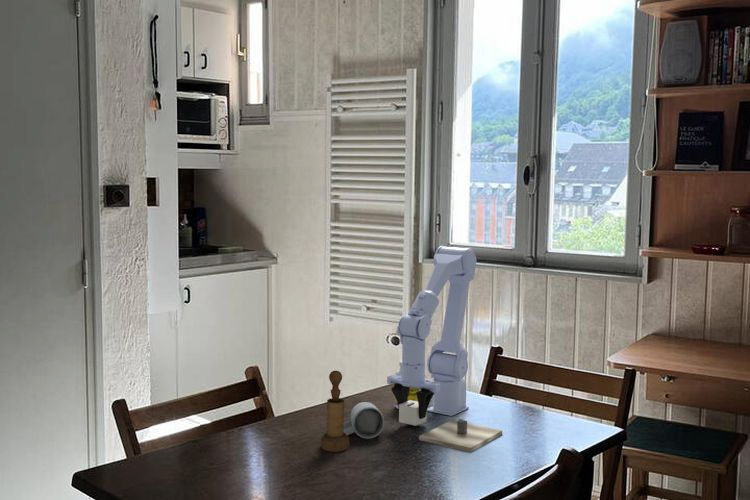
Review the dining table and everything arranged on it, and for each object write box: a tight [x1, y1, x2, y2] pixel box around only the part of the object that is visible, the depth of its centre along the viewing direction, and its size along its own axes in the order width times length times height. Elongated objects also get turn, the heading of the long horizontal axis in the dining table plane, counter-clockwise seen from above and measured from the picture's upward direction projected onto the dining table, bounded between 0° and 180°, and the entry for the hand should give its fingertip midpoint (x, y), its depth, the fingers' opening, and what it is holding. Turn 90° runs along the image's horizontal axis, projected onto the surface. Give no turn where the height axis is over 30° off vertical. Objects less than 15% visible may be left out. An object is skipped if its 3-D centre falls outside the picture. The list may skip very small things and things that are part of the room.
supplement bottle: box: [394, 359, 421, 409], centre depth 223 cm, size 7×7×13 cm
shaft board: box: [418, 419, 503, 453], centre depth 199 cm, size 16×14×4 cm
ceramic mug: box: [343, 401, 385, 440], centre depth 201 cm, size 11×8×8 cm
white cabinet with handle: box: [398, 400, 428, 427], centre depth 207 cm, size 5×5×5 cm
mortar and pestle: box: [320, 370, 350, 453], centre depth 190 cm, size 7×6×18 cm
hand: (412, 415), depth 207 cm, fingers closed on white cabinet with handle, 5 cm apart
